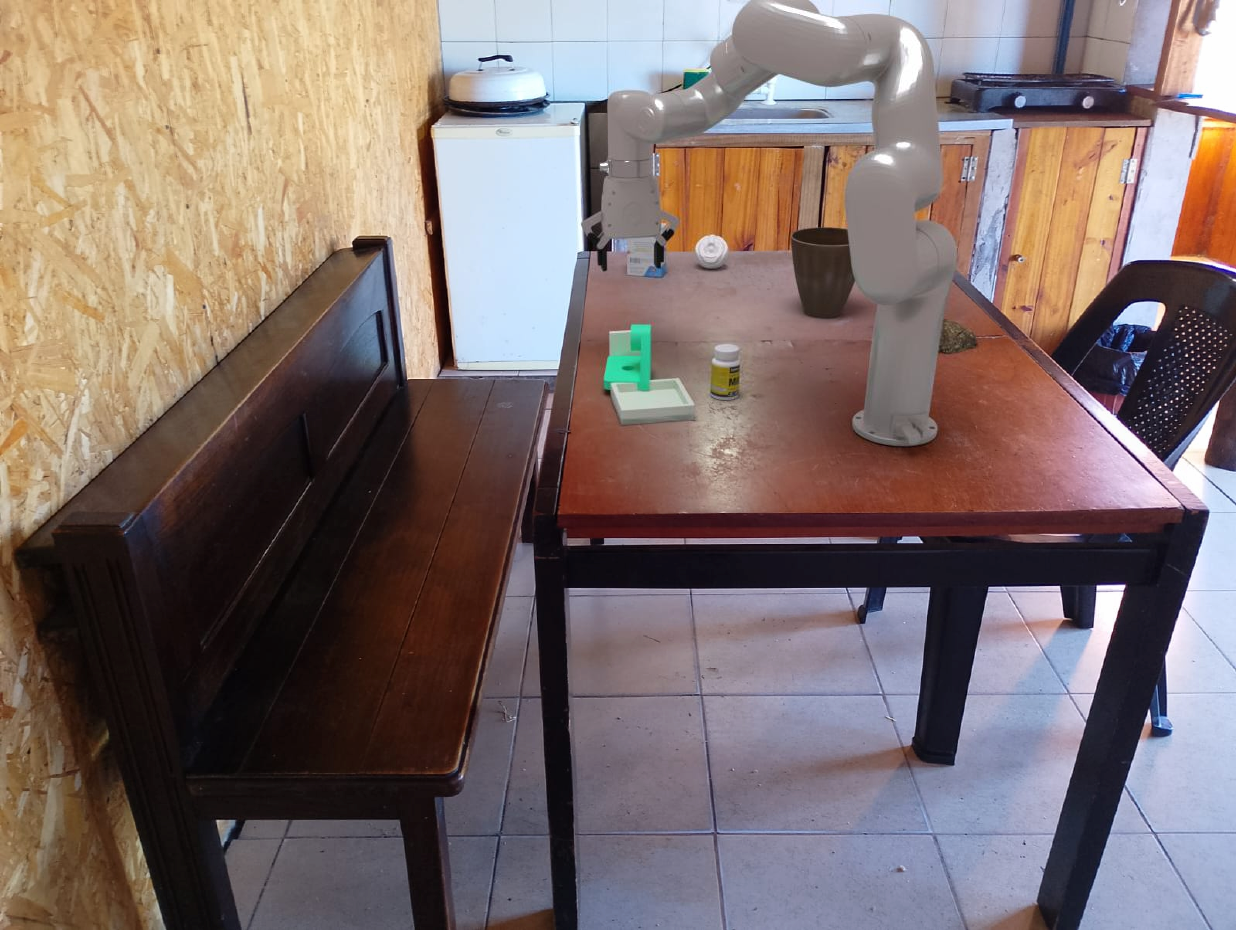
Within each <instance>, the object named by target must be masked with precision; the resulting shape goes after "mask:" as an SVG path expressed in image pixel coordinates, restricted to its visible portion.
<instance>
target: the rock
mask: <svg viewBox="0 0 1236 930" xmlns="http://www.w3.org/2000/svg"><path fill="white" fill-rule="evenodd" d="M977 346H978V339H977V336H976V335H975V333H974V332H973V331H972V330H970V329H968V328H967V327H965V326H963V325H961V324H959V323H958V322H956V321H954V320H951V319H948V318H943V324H942V331H941V337H940V342H939V349H938V354H941V353H942V354H947V355H948V354H951V355H952V354H958V353H963V352H964V351H967V350H973V349H976V347H977Z"/></svg>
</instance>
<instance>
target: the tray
mask: <svg viewBox="0 0 1236 930" xmlns="http://www.w3.org/2000/svg"><path fill="white" fill-rule="evenodd" d="M610 388H611V390H610V399H611V402H612V403H613V406H614V409H615V411H616V413H617V417H618V419H619V421H620V424H621V426H630V425H632V426H633V425H642V424H654V423H655V424H657V423H668V422H683V421H692V420H693V421H695V420H696V419H695V412H696V406H695V403H694V401H693V399H692V398H691V396H690V394H689V393H688V391H687V390H686V388H685V386H684V383H682V381H681V379H680V378H679V377H676V378H662V379H661V378H659V379H651V380H650V381H649V390H637V383H610Z"/></svg>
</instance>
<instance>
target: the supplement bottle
mask: <svg viewBox="0 0 1236 930" xmlns="http://www.w3.org/2000/svg"><path fill="white" fill-rule="evenodd" d="M739 356H740V347H739V346H737V345H736V344H730V343H722V344H716V346H714V357H713V358H712V359H711V368H710V369H711V371H710V372H711V373H710V374H711V375H710V392H709V393H710V396H711V397H712V398H714V399H716V400H718V401H719V400H720V401H732V400H735V399H737V398H738V397H739V394H740V393H739V392H740V378H741V375H740V374H741V358H739Z"/></svg>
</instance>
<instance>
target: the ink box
mask: <svg viewBox="0 0 1236 930" xmlns="http://www.w3.org/2000/svg"><path fill="white" fill-rule="evenodd" d="M667 228H668V225H667V223H663V222H661V232H660V234H662V233H663V232H664V231H665V230H666V229H667ZM655 242H656V239H655V238H654V237H646V238H627V239H626V262H627V263H626V274H627V276H636V277H648V278H662V277H664V275H665V274H666V273H667V244H666V245H665V246H664V262H661V268H660V269H658V268H656V266H655V265H654V244H655Z"/></svg>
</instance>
